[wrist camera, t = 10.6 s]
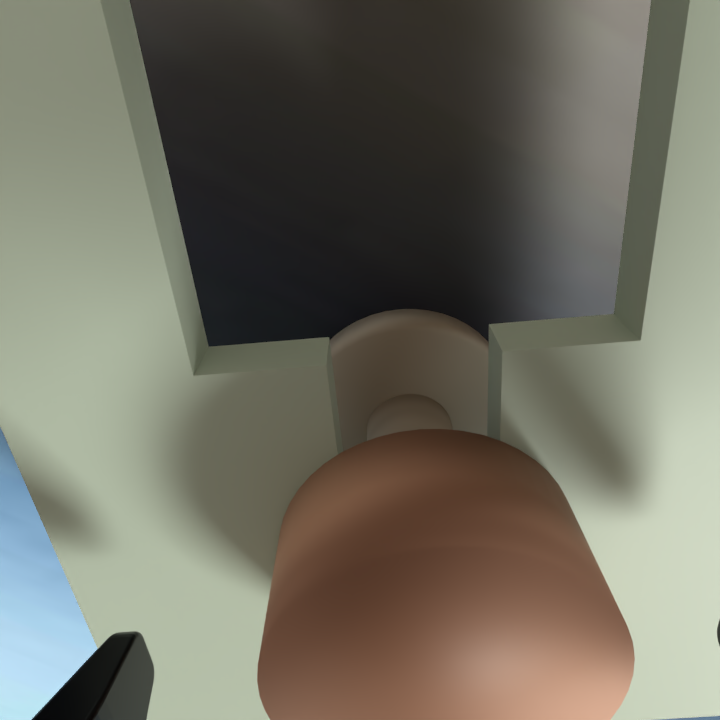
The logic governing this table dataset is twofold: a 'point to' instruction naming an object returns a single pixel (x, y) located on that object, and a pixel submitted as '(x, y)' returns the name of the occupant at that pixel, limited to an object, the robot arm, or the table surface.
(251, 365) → the keyhole board
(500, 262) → the table surface
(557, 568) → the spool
